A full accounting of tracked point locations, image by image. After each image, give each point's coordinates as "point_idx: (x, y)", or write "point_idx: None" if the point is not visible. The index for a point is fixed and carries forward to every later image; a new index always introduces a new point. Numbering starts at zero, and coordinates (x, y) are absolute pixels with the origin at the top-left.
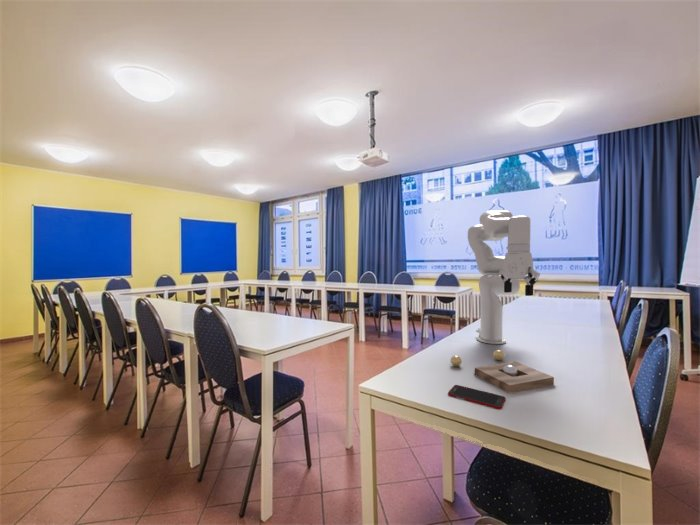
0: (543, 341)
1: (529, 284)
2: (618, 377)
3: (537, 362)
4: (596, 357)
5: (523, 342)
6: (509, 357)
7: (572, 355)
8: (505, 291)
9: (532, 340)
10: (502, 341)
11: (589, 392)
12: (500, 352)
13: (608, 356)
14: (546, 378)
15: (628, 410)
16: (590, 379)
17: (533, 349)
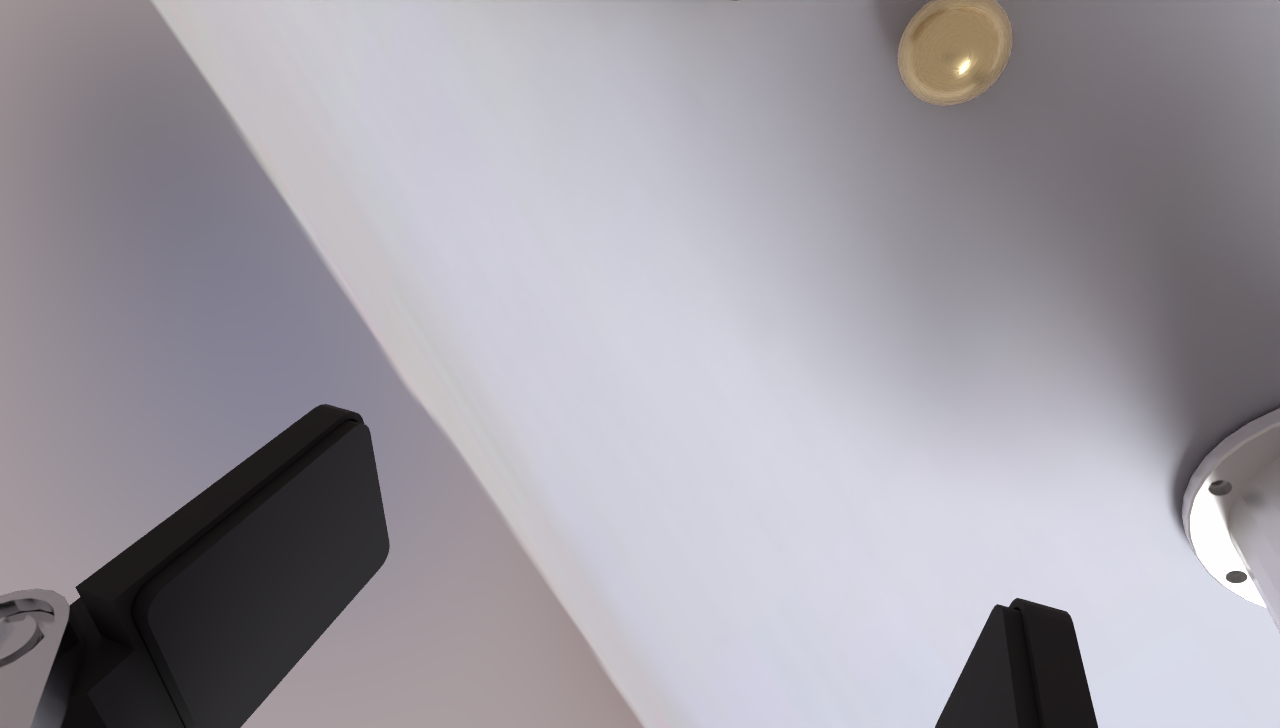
0: None
1: (1, 600)
2: (436, 398)
3: (743, 280)
4: (642, 606)
5: None
6: (933, 202)
7: (717, 563)
8: (1015, 618)
9: None
10: (1198, 497)
11: (331, 65)
12: (923, 36)
13: (627, 652)
14: None
15: (171, 19)
16: (450, 261)
17: (924, 520)
